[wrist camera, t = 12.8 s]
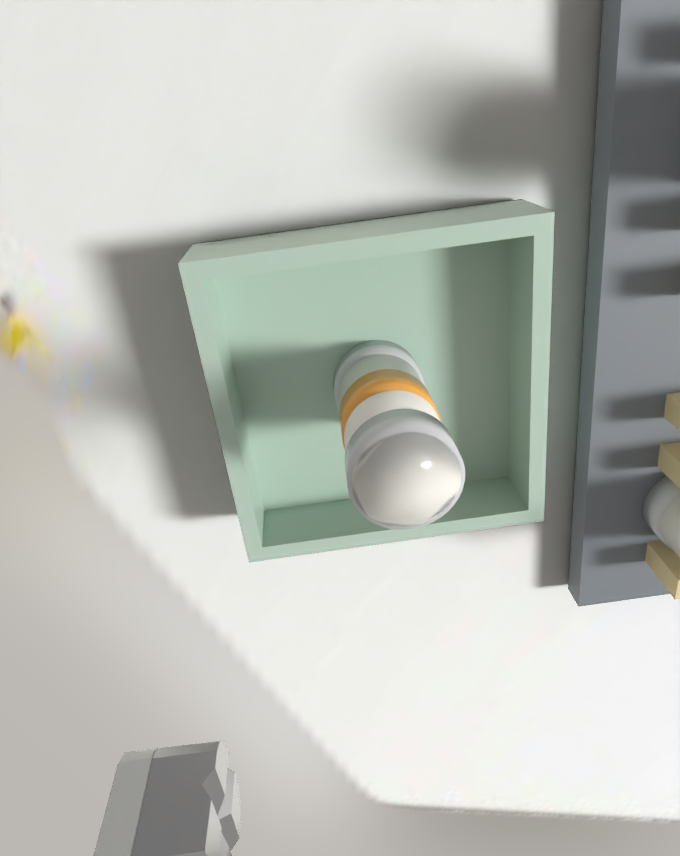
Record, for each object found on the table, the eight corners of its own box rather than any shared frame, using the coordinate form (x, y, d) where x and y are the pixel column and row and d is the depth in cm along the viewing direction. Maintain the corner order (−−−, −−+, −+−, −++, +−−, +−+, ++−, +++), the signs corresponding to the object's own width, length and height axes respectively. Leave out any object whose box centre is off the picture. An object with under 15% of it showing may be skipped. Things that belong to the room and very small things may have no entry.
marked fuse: (327, 346, 22) (340, 437, 16) (416, 334, 22) (463, 420, 16) (338, 425, 24) (354, 537, 18) (421, 414, 24) (467, 521, 18)
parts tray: (192, 244, 21) (177, 263, 18) (521, 199, 21) (554, 212, 18) (253, 516, 26) (249, 562, 23) (518, 479, 26) (544, 521, 24)
